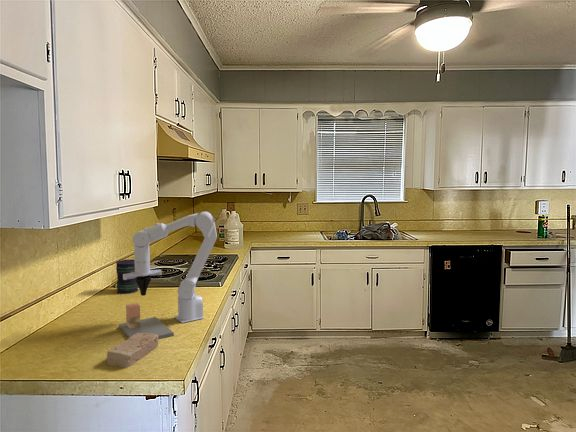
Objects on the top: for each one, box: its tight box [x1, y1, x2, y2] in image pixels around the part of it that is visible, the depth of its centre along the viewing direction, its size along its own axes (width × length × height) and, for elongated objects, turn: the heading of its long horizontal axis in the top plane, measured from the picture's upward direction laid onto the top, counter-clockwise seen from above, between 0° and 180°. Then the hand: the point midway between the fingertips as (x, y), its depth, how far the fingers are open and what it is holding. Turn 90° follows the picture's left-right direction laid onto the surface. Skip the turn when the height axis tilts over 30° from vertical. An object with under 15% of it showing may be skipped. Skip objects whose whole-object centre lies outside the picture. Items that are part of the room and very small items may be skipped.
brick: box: [106, 333, 159, 369], centre depth 134 cm, size 17×8×5 cm, turn 164°
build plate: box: [118, 316, 175, 340], centre depth 154 cm, size 14×20×1 cm
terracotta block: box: [125, 302, 141, 318], centre depth 156 cm, size 4×4×4 cm
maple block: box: [125, 315, 141, 329], centre depth 156 cm, size 4×4×4 cm
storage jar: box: [115, 259, 139, 295], centre depth 205 cm, size 10×10×15 cm
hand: (143, 294), depth 165 cm, fingers closed
